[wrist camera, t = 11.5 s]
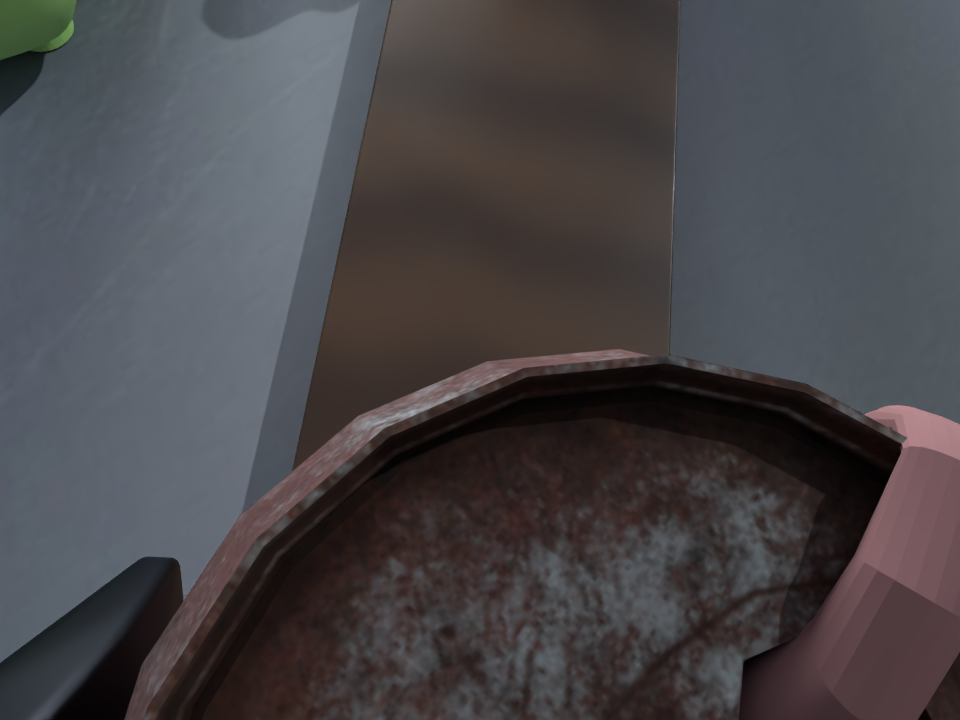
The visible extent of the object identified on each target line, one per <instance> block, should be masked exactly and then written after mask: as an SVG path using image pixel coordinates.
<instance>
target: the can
mask: <svg viewBox="0 0 960 720" xmlns="http://www.w3.org/2000/svg"><path fill="white" fill-rule="evenodd" d="M124 720H960V425H959V424H958V423H955V422H953V421H951V420H949V419H946V418H944V417H942V416H939V415H935V414H932V413H929V412H926V411H923V410H920V409H916V408H913V407H910V406H902V405H892V406H885V407H882V408H879V409H877V410H874V411H871V412H868V413H866V414H862V413H860V412H858V411H856V410H855V409H853V408H851V407H849V406H847V405H845V404H843V403H841V402H840V401H838V400H836V399H834V398H832V397H830V396H828V395H826V394H825V393H823V392H821V391H819V390H817V389H815V388H813V387H811V386H810V385H808V384H805V383H800V382H795V381H791V380H786V379H781V378H776V377H772V376H767V375H762V374H758V373H753V372H748V371H743V370H739V369H734V368H729V367H724V366H720V365H715V364H710V363H706V362H701V361H696V360H691V359H687V358H682V357H677V356H673V355H668V354H664V355H653V356H649V355H645V354H640V353H635V352H630V351H626V350H621V349H615V350H604V351H593V352H582V353H572V354H561V355H550V356H539V357H529V358H518V359H507V360H496V361H487V362H484V363H482V364H480V365H477V366H475V367H473V368H470V369H468V370H466V371H463V372H461V373H459V374H456V375H454V376H451V377H449V378H447V379H444V380H442V381H440V382H437V383H435V384H433V385H430V386H428V387H425V388H423V389H421V390H418V391H416V392H414V393H411V394H409V395H407V396H404V397H402V398H399V399H397V400H395V401H392V402H390V403H388V404H385V405H383V406H381V407H378V408H376V409H373V410H371V411H369V412H366V413H364V414H362V415H359V416H358V417H356V418H355V419H354V420H353V421H352V422H350V423H349V424H348V425H347V426H346V427H345V428H343V429H342V430H341V431H340V432H339V433H337V434H336V435H335V436H334V437H333V438H332V439H330V440H329V441H328V442H327V443H326V444H324V445H323V446H322V447H321V448H320V449H318V450H317V451H316V452H315V453H314V454H313V455H311V456H310V457H309V458H308V459H307V460H305V461H304V462H303V463H302V464H301V465H300V466H298V467H297V468H296V469H295V470H294V471H292V472H291V473H290V474H289V475H288V476H287V477H285V478H284V479H283V480H282V481H281V482H279V483H278V484H277V485H276V486H275V487H274V488H272V489H271V490H270V491H269V492H268V493H266V494H265V495H264V496H263V497H262V498H261V499H259V500H258V501H257V502H256V503H255V504H253V505H252V506H251V507H250V508H249V509H247V510H246V511H245V512H244V513H243V514H242V515H240V516H239V518H238V519H237V521H236V522H235V524H234V525H233V527H232V528H231V530H230V531H229V533H228V534H227V536H226V537H225V539H224V541H223V542H222V544H221V545H220V547H219V548H218V550H217V551H216V553H215V554H214V556H213V557H212V559H211V560H210V562H209V563H208V565H207V566H206V568H205V569H204V571H203V572H202V574H201V575H200V577H199V578H198V580H197V582H196V583H195V585H194V586H193V588H192V589H191V591H190V592H189V594H188V595H187V597H186V598H185V600H184V601H183V603H182V604H181V606H180V607H179V609H178V610H177V612H176V613H175V615H174V616H173V618H172V619H171V621H170V623H169V624H168V626H167V627H166V629H165V630H164V632H163V633H162V635H161V636H160V638H159V639H158V641H157V642H156V644H155V645H154V647H153V648H152V650H151V651H150V653H149V654H148V656H147V657H146V659H145V660H144V662H143V664H142V666H141V669H140V672H139V675H138V678H137V682H136V685H135V688H134V691H133V694H132V697H131V700H130V704H129V707H128V710H127V713H126V716H125V719H124Z"/></svg>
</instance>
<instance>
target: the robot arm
mask: <svg viewBox="0 0 960 720" xmlns="http://www.w3.org/2000/svg"><path fill="white" fill-rule="evenodd" d="M182 603H183V591H182V581H181V571H180V565H179V563H178V561H177V560H176V559H174V558H167V557H144V558H141V559H139V560H138V561H136V562H135V563H134V564H132V565H131V566H130V567H128V568H127V569H126V570H124V571H123V572H122V573H120V574H119V575H118V576H116V577H115V578H114V579H112V580H111V581H110V582H108V583H107V584H106V585H104V586H103V587H101V588H100V589H99V590H97V591H96V592H95V593H93V594H92V595H91V596H89V597H88V598H87V599H85V600H84V601H83V602H81V603H80V604H79V605H77V606H76V607H75V608H73V609H72V610H71V611H69V612H68V613H67V614H65V615H64V616H63V617H61V618H60V619H59V620H57V621H56V622H55V623H53V624H52V625H50V626H49V627H48V628H46V629H45V630H44V631H42V632H41V633H40V634H38V635H37V636H36V637H34V638H33V639H32V640H30V641H29V642H28V643H26V644H25V645H24V646H22V647H21V648H20V649H18V650H17V651H16V652H14V653H13V654H12V655H10V656H9V657H8V658H6V659H5V660H4V661H2V662H1V663H0V720H124V719H125V716H126V713H127V710H128V707H129V704H130V700H131V697H132V694H133V691H134V688H135V685H136V682H137V678H138V675H139V672H140V669H141V666H142V664H143V662H144V660H145V659H146V657H147V656H148V654H149V653H150V651H151V650H152V648H153V647H154V645H155V644H156V642H157V641H158V639H159V638H160V636H161V635H162V633H163V632H164V630H165V629H166V627H167V626H168V624H169V623H170V621H171V619H172V618H173V616H174V615H175V613H176V612H177V610H178V609H179V607H180V606H181V604H182Z"/></svg>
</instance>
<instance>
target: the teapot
mask: <svg viewBox="0 0 960 720" xmlns="http://www.w3.org/2000/svg"><path fill="white" fill-rule="evenodd" d="M76 2H77V0H0V60H2V59H5V58H9V57H12V56H15V55H18V54H21V53H24V52H26V51H29V50H30V51H35V52H46V51H51V50H54V49H57V48H59V47H60V46H62V45H64V44H65V43H66V42H67V41H68V40H69V39H70V38H71V36H72V34H73V31H74V23H73V20H72V18H73V14H74V10H75V6H76Z"/></svg>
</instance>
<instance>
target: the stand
mask: <svg viewBox="0 0 960 720" xmlns="http://www.w3.org/2000/svg"><path fill="white" fill-rule="evenodd" d="M679 32H680V0H392V1H391V5H390V10H389V15H388V20H387V24H386V29H385V34H384V39H383V43H382V48H381V53H380V57H379V62H378V67H377V72H376V76H375V81H374V86H373V91H372V95H371V100H370V105H369V110H368V114H367V119H366V124H365V128H364V133H363V138H362V143H361V147H360V152H359V157H358V162H357V166H356V171H355V176H354V181H353V185H352V190H351V195H350V200H349V204H348V209H347V214H346V218H345V223H344V228H343V233H342V237H341V242H340V247H339V252H338V256H337V261H336V266H335V271H334V275H333V280H332V285H331V290H330V294H329V299H328V304H327V308H326V313H325V318H324V323H323V327H322V332H321V337H320V342H319V346H318V351H317V356H316V361H315V365H314V370H313V375H312V379H311V384H310V389H309V394H308V398H307V403H306V408H305V413H304V417H303V422H302V427H301V432H300V436H299V441H298V446H297V451H296V455H295V460H294V465H293V469H292V471H294V470H295V469H296V468H297V467H298V466H300V465H301V464H302V463H303V462H304V461H305V460H307V459H308V458H309V457H310V456H311V455H313V454H314V453H315V452H316V451H317V450H318V449H320V448H321V447H322V446H323V445H324V444H326V443H327V442H328V441H329V440H330V439H332V438H333V437H334V436H335V435H336V434H337V433H339V432H340V431H341V430H342V429H343V428H345V427H346V426H347V425H348V424H349V423H350V422H352V421H353V420H354V419H355V418H356V417H358V416H359V415H362V414H364V413H366V412H369V411H371V410H373V409H376V408H378V407H381V406H383V405H385V404H388V403H390V402H392V401H395V400H397V399H399V398H402V397H404V396H407V395H409V394H411V393H414V392H416V391H418V390H421V389H423V388H425V387H428V386H430V385H433V384H435V383H437V382H440V381H442V380H444V379H447V378H449V377H451V376H454V375H456V374H459V373H461V372H463V371H466V370H468V369H470V368H473V367H475V366H477V365H480V364H482V363H484V362H487V361H496V360H507V359H518V358H529V357H539V356H550V355H561V354H572V353H582V352H593V351H604V350H615V349H621V350H626V351H630V352H635V353H640V354H645V355H649V356H653V355H664V354H668V355H670V328H671V295H672V262H673V229H674V196H675V163H676V130H677V98H678V65H679Z"/></svg>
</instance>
